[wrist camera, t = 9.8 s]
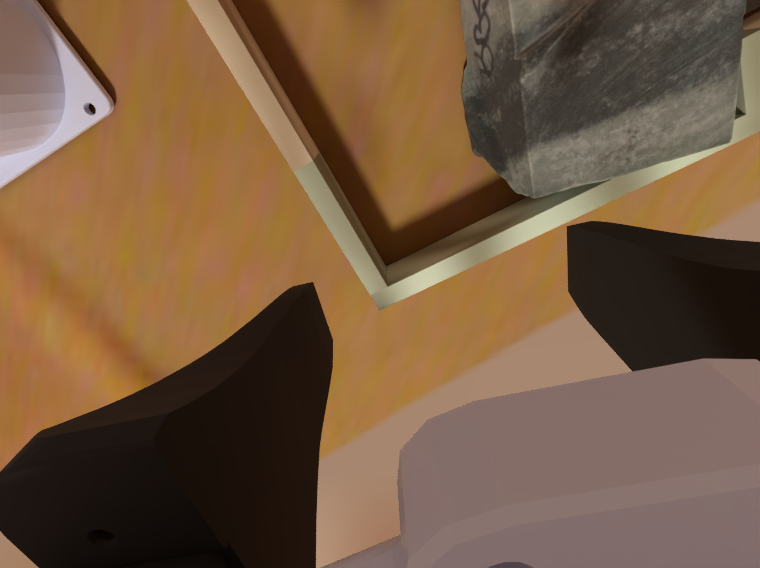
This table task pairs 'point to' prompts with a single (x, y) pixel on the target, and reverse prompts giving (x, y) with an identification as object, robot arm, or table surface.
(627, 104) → the stone block
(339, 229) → the trap lane
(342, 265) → the table surface
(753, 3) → the pads
